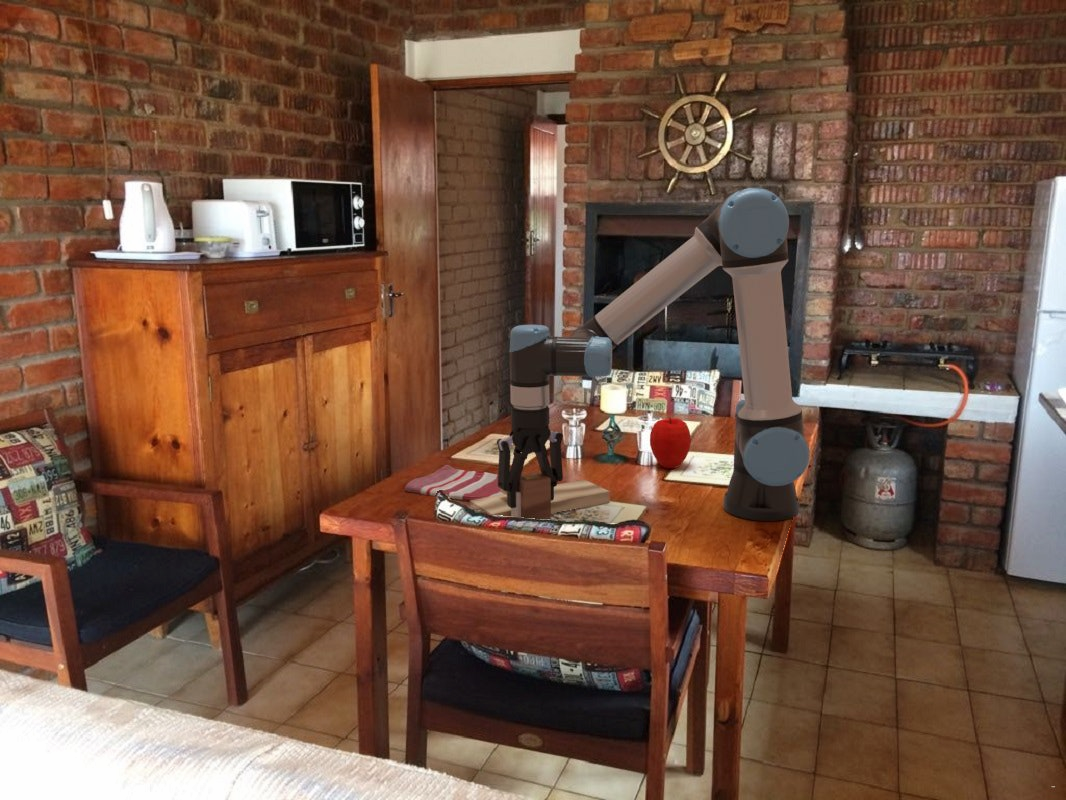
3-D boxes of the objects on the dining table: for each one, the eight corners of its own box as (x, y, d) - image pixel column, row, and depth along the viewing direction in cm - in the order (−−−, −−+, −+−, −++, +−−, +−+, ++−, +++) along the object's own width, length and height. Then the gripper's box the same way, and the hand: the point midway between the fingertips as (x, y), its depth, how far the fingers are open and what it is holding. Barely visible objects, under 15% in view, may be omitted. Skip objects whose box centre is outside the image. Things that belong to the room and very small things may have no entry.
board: (609, 502, 192) (609, 491, 191) (492, 526, 178) (492, 514, 177) (584, 490, 200) (584, 479, 200) (470, 511, 187) (469, 500, 186)
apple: (666, 458, 225) (667, 410, 222) (699, 466, 218) (700, 416, 215) (641, 466, 218) (641, 417, 215) (674, 474, 211) (675, 424, 208)
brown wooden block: (551, 522, 178) (550, 477, 176) (524, 527, 175) (523, 482, 173) (517, 502, 190) (516, 460, 188) (491, 507, 187) (490, 465, 185)
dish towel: (444, 474, 215) (444, 463, 215) (532, 486, 205) (531, 475, 204) (403, 494, 201) (403, 482, 200) (496, 508, 190) (495, 496, 190)
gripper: (561, 396, 182) (562, 506, 187) (477, 407, 173) (479, 522, 177) (582, 403, 175) (581, 516, 180) (495, 415, 166) (497, 533, 171)
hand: (531, 519), depth 179 cm, fingers closed on brown wooden block, 6 cm apart
